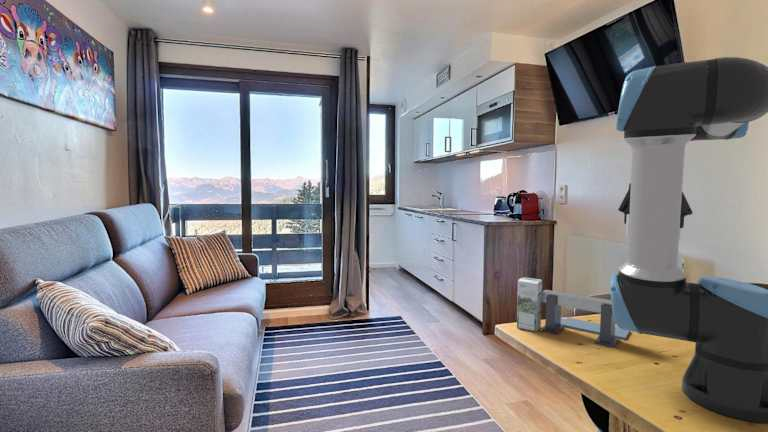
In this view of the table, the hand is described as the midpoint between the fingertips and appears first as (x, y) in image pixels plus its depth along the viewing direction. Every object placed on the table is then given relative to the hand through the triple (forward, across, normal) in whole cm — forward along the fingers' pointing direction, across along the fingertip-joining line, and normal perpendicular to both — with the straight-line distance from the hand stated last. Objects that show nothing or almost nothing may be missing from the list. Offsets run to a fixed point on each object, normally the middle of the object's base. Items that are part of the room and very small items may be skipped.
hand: (651, 237), depth 119 cm
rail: (+19, +1, +28) cm, 34 cm away
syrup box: (+27, +11, +36) cm, 47 cm away
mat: (+27, +5, +20) cm, 34 cm away
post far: (+27, +7, +31) cm, 41 cm away
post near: (+27, -6, +25) cm, 37 cm away
